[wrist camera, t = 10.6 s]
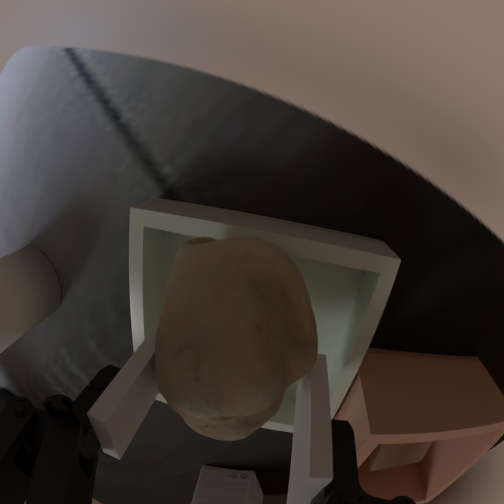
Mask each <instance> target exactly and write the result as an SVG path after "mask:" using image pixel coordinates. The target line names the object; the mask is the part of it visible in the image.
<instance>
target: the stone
mask: <svg viewBox="0 0 504 504" xmlns="http://www.w3.org/2000/svg"><path fill="white" fill-rule="evenodd" d="M317 354H318V335H317V325H316V320H315V315H314V312H313V309H312V306H311V299H310V295H309V293H308V290H307V287H306V284H305V281H304V278H303V276H302V274H301V271H300V270H299V268H298V266H297V265H296V263H295V261H294V260H293V259H292V258H291V257H290V256H289V255H288V253H287V252H286V251H284V250H282V249H281V248H280V247H278V246H277V245H275V244H273V243H269V242H265V241H263V240H261V239H260V238H257V237H234V238H229V239H224V240H216V239H213V238H211V237H198V238H193V239H190V240H187V241H186V242H184V243H183V244H182V245H181V246H180V248H179V249H178V251H177V254H176V257H175V260H174V264H173V269H172V271H171V273H170V275H169V278H168V280H167V283H166V285H165V288H164V293H163V298H162V304H161V313H160V318H159V322H158V326H157V331H156V338H155V363H156V379H157V386H158V389H159V392H160V393H161V394H162V396H163V397H164V398H165V400H166V401H167V403H168V404H169V406H170V407H171V408H172V409H173V410H174V411H176V412H178V413H179V414H180V415H181V416H182V417H183V419H184V421H185V422H186V423H187V424H188V425H189V426H190V427H191V428H192V429H193V430H195V431H196V432H197V433H199V434H202V435H205V436H208V437H211V438H214V439H217V440H227V441H231V440H239V439H243V438H246V437H247V436H249V435H250V434H251V433H253V432H254V431H255V430H257V429H259V428H260V427H261V426H263V425H264V424H265V423H267V422H268V421H269V420H270V419H271V418H272V417H273V416H274V415H275V414H276V413H277V411H278V410H279V409H280V406H281V403H282V400H283V397H284V393H285V391H286V389H287V388H288V387H289V386H290V385H292V384H293V383H294V382H296V381H298V380H300V379H301V378H303V377H304V376H305V375H307V374H308V373H309V372H310V371H311V370H312V368H313V367H314V365H315V363H316V361H317Z"/></svg>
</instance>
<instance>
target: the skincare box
mask: <svg viewBox="0 0 504 504" xmlns="http://www.w3.org/2000/svg"><path fill="white" fill-rule="evenodd" d="M262 502H263V493H262V490H261V487H260V484H259V482H258V479H257V477H256V474H255V472H254V471H248V470H232V469H226V468H219V467H212V466H203V467H202V469H201V472H200V476H199V479H198V483H197V486H196V490H195V493H194V497H193V500H192V504H262Z"/></svg>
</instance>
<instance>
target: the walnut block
mask: <svg viewBox="0 0 504 504" xmlns="http://www.w3.org/2000/svg"><path fill="white" fill-rule="evenodd" d="M432 442H433V441H430V442H418V443H401V444H378V446H377V447H376V448H375V449H374V450H373V451H372V453H371V454H370V455H369V456H368V459H369V467H370V471H375V470H381V469H387V468H393V467H398V466H403V465H407V464H412V463H416V462H420V461H421V460H422V459H423V457H424V455H425V454H426V452H427V451H428V449H429V447H430V446H431V444H432Z"/></svg>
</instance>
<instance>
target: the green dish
mask: <svg viewBox="0 0 504 504" xmlns="http://www.w3.org/2000/svg"><path fill="white" fill-rule="evenodd" d="M198 237H211V238H213V239H216V240H224V239H229V238H234V237H257V238H260V239H261V240H263V241H265V242H269V243H273V244H275V245H277V246H278V247H280V248H281V249H282V250H284V251H286V252H287V253H288V255H289V256H290V257H291V258H292V259H293V260H294V261H295V263H296V265H297V266H298V268H299V270H300V271H301V274H302V276H303V278H304V281H305V284H306V287H307V290H308V293H309V295H310V299H311V306H312V309H313V312H314V315H315V320H316V325H317V335H318V354H324V355H326V359H327V370H328V382H329V396H330V411H331V419H333V417H334V415H335V413H336V412H337V410H338V408H339V406H340V404H341V402H342V401H343V399H344V397H345V395H346V393H347V391H348V389H349V387H350V385H351V383H352V381H353V379H354V377H355V375H356V373H357V371H358V369H359V367H360V365H361V363H362V360H363V358H364V356H365V354H366V352H367V349H368V347H369V345H370V343H371V340H372V338H373V336H374V333H375V331H376V328H377V326H378V323H379V321H380V318H381V316H382V313H383V311H384V308H385V305H386V303H387V300H388V297H389V295H390V292H391V289H392V286H393V283H394V280H395V277H396V274H397V271H398V268H399V265H400V262H401V259H400V258H399V257H398V256H397V255H396V254H395V253H394V252H393V251H392V250H391V249H390V248H389V247H388V245H387V244H386V243H385V242H384V241H381V240H377V239H373V238H368V237H364V236H359V235H355V234H350V233H346V232H341V231H336V230H332V229H327V228H322V227H317V226H312V225H308V224H303V223H298V222H293V221H288V220H282V219H277V218H272V217H267V216H261V215H256V214H251V213H245V212H240V211H234V210H228V209H223V208H217V207H211V206H205V205H199V204H193V203H187V202H181V201H174V200H168V199H161V198H157V199H154V200H151V201H148V202H145V203H142V204H139V205H136V206H133V207H130V224H129V287H130V309H131V325H132V337H133V348H134V352H135V351H136V350H137V348H138V347H139V346H140V345H141V343H142V342H143V341H144V340H145V339H146V337H147V336H148V335H149V334H150V332H151V331H152V330H153V329H154V327H155V326H156V325H157V324H158V322H159V318H160V313H161V304H162V298H163V293H164V288H165V285H166V283H167V280H168V278H169V275H170V273H171V271H172V269H173V264H174V260H175V257H176V254H177V251H178V249H179V248H180V246H181V245H182V244H183V243H184V242H186V241H187V240H190V239H193V238H198ZM300 380H301V379H300ZM300 380H298V381H296V382H294V383H293V384H292V385H290V386H289V387H288V388H287V389H286V391H285V393H284V397H283V400H282V403H281V406H280V409H279V410H278V411H277V413H276V414H275V415H274V416H273V417H272V418H271V419H270V420H269V421H268V422H267V423H265V424H264V425H263V426H261V427H262V428H267V429H273V430H279V431H286V432H294V418H295V402H296V391H297V388H298V385H299V383H300ZM155 399H156V400H159V401H162V402H165V403H167V401H166V400H165V398H164V397H163V396H162V394H161V393H160V392H159V393H158V395H157V397H156V398H155Z"/></svg>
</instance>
